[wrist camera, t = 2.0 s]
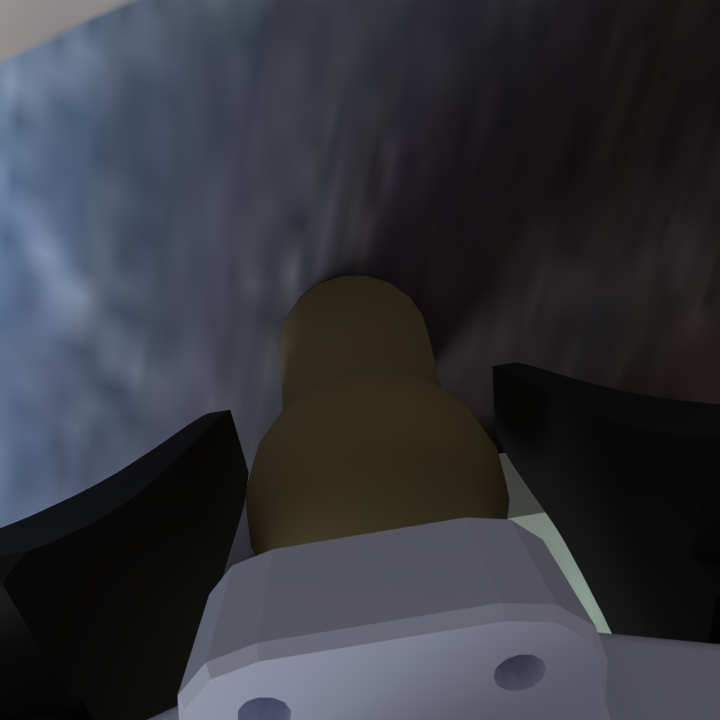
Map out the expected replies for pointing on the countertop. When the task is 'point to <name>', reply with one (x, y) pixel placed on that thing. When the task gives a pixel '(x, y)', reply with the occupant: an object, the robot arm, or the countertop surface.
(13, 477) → the countertop surface
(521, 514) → the box
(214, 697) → the robot arm
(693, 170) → the countertop surface
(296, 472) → the brown rounded lobed piece
